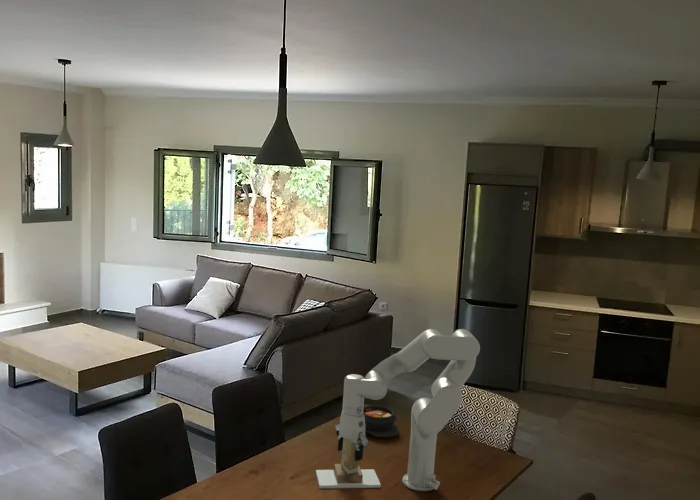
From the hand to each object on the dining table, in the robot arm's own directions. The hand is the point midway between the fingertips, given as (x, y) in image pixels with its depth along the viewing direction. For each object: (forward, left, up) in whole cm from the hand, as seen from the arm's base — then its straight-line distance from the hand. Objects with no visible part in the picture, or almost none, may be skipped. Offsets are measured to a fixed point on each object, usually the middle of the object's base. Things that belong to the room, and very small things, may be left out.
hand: (349, 454), depth 227 cm
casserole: (+30, -41, -10) cm, 52 cm away
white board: (0, 0, -10) cm, 10 cm away
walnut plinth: (0, 0, -10) cm, 10 cm away
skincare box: (0, 0, -6) cm, 6 cm away
